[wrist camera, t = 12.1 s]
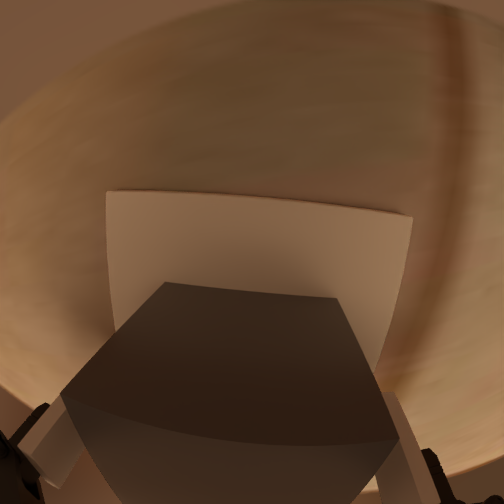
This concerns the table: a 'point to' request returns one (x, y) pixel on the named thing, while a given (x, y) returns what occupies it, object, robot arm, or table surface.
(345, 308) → the board
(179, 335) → the dark grey block
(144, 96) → the table surface
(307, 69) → the table surface
